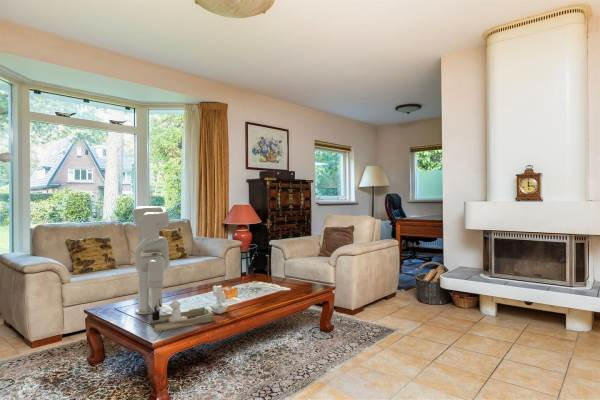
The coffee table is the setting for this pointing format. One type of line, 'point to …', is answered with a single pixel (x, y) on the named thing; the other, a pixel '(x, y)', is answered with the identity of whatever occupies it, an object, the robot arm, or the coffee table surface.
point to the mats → (156, 324)
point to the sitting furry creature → (176, 312)
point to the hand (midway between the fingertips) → (155, 319)
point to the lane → (192, 312)
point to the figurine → (219, 300)
